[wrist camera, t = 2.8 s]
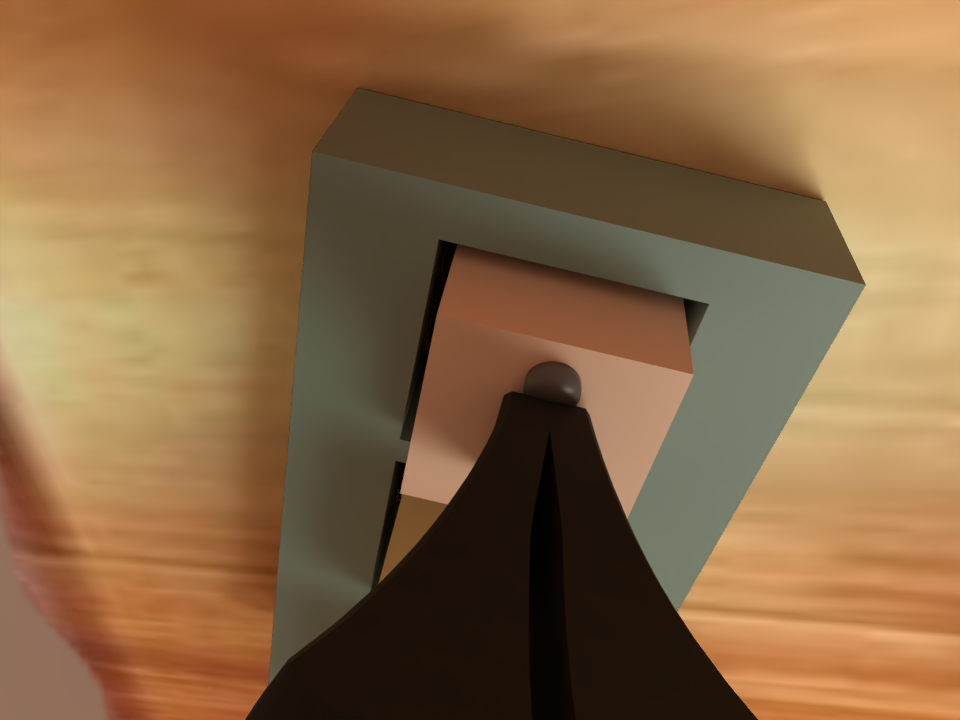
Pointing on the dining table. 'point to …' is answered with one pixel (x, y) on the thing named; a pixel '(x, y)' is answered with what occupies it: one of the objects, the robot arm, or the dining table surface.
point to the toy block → (546, 366)
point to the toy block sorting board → (554, 242)
